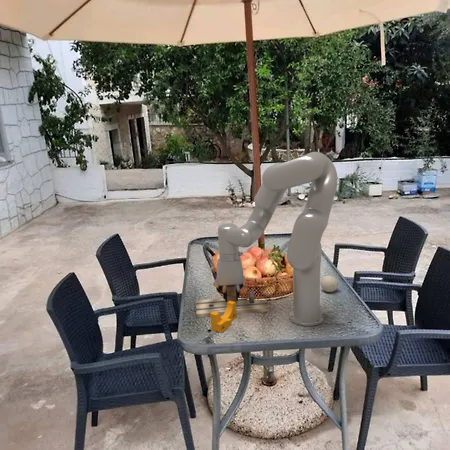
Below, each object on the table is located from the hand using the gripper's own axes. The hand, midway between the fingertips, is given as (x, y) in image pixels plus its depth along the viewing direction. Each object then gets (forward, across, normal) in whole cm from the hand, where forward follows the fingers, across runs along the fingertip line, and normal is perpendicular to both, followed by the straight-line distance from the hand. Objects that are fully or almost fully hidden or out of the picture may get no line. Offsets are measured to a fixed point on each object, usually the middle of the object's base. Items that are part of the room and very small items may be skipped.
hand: (231, 299), depth 161 cm
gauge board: (+3, 0, 0) cm, 3 cm away
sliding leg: (+1, 0, 0) cm, 1 cm away
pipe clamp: (+4, +4, +13) cm, 14 cm away
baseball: (+4, -42, -7) cm, 43 cm away
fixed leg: (+2, -8, 0) cm, 8 cm away
